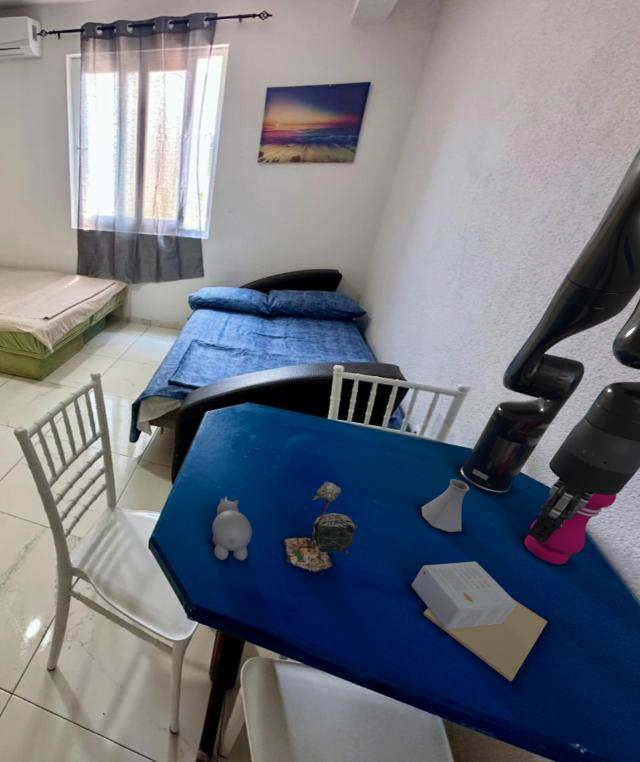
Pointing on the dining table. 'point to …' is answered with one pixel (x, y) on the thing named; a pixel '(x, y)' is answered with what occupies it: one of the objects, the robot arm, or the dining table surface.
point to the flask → (447, 507)
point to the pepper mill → (568, 532)
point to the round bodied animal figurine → (230, 531)
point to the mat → (500, 639)
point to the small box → (462, 595)
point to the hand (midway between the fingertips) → (537, 536)
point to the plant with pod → (322, 536)
